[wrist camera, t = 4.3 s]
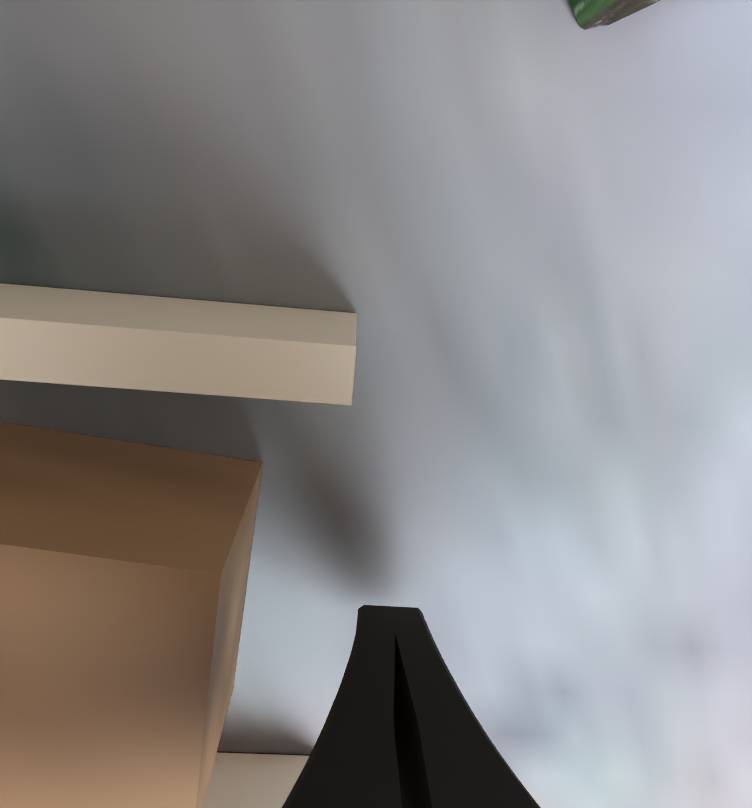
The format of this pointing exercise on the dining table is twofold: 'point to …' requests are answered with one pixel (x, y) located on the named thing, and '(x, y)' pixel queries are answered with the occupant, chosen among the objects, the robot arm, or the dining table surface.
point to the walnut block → (117, 617)
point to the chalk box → (605, 10)
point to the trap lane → (185, 373)
